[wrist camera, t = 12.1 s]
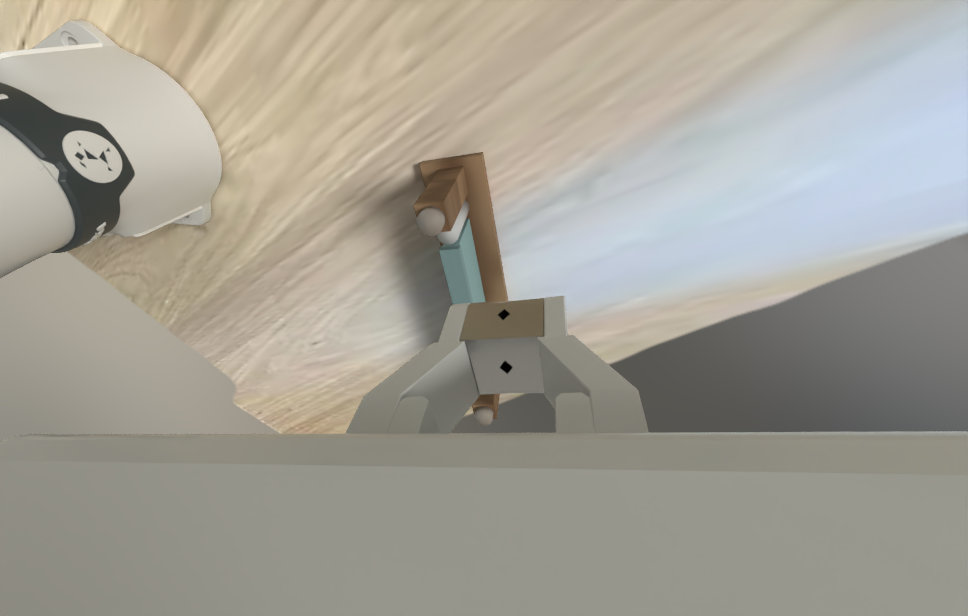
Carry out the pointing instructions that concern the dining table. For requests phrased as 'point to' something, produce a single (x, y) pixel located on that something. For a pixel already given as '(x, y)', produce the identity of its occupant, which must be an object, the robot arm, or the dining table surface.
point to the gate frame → (439, 212)
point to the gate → (461, 261)
